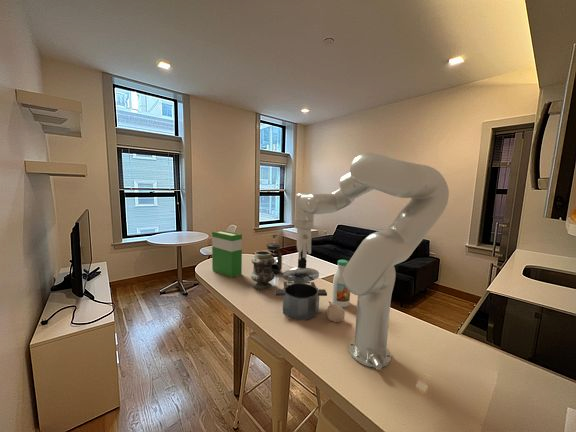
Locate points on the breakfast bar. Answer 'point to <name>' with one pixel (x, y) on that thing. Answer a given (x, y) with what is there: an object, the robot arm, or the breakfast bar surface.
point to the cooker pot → (300, 300)
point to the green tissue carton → (227, 253)
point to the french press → (277, 263)
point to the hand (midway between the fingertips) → (301, 268)
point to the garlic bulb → (335, 313)
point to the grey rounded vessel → (262, 270)
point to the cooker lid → (300, 275)
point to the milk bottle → (340, 286)
